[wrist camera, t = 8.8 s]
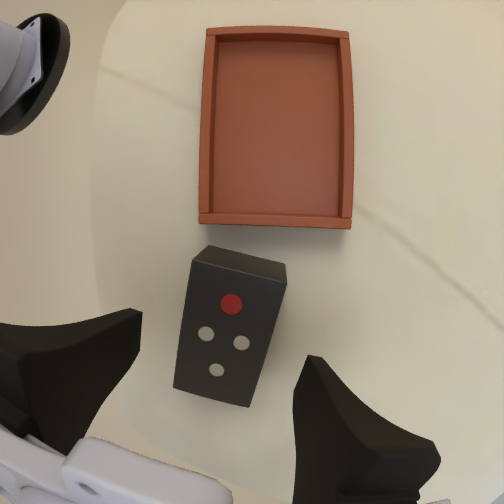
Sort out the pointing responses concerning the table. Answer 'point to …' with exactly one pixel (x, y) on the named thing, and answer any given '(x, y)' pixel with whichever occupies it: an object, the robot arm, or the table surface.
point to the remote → (227, 324)
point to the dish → (277, 127)
